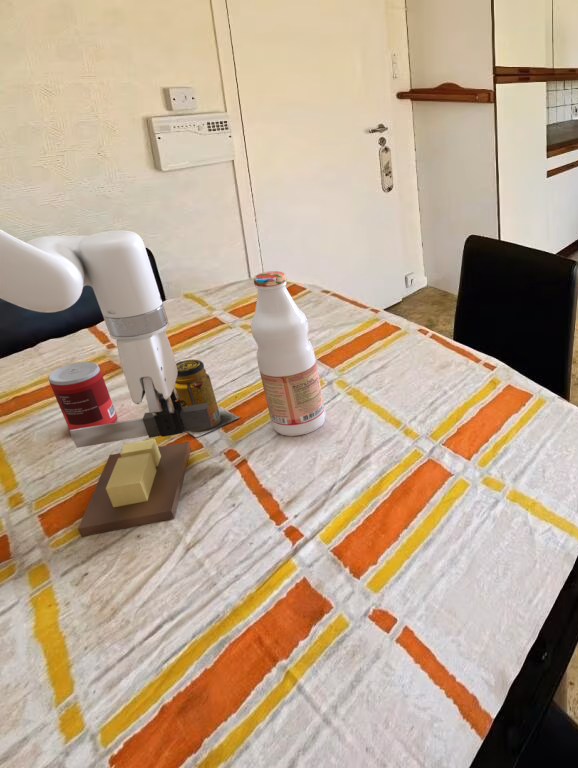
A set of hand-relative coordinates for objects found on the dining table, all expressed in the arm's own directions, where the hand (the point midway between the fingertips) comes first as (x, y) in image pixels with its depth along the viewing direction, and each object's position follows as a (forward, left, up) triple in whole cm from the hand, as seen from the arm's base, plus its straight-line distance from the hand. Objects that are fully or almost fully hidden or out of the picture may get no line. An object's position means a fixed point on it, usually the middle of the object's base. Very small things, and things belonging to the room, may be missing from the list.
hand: (173, 428), depth 97 cm
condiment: (+2, +15, -8) cm, 17 cm away
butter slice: (-6, +2, -7) cm, 9 cm away
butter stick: (-6, -5, -7) cm, 10 cm away
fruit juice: (+18, +9, -8) cm, 22 cm away
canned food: (-18, +21, -8) cm, 29 cm away
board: (-6, -3, -8) cm, 11 cm away
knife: (-3, 0, 0) cm, 3 cm away
